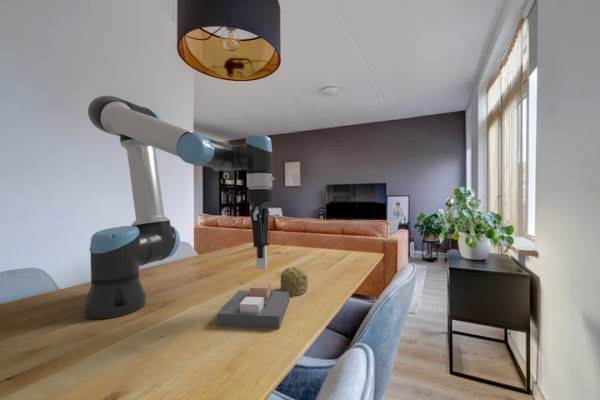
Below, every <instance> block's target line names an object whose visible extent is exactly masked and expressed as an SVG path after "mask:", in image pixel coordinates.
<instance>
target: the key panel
mask: <svg viewBox="0 0 600 400" xmlns="http://www.w3.org/2000/svg"><path fill="white" fill-rule="evenodd" d="M245 297H250V289H249V290H243V289H238V291H237V292H235V294H234V295H233V296H232V297H231V298H230V299H229V300H228V301H227V302H226V303H225V305H223V307H221V309H220V310H219V311H218V312H216V326H219V327H240V328H241V327H243V328H259V329H260V328H262V329H263V328H264V329H280V328H281V325H282V322H283V320H284V317H285V314H286V312H287V309H288V307H289V306H288V305H289V303H290V296H289V292H281V290H280V291H278V290H277V291H276V290H275V291H274V290H271V295H270V297H269V298H268V300H264V308H263V310H262V312H261V314H254V313H240V303H241V302H242V301H243V299H244V298H245Z"/></svg>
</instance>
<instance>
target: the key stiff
mask: <svg viewBox="0 0 600 400" xmlns="http://www.w3.org/2000/svg"><path fill="white" fill-rule="evenodd" d="M271 283H272V282H257V281H256V282H254V283H253V284H252V285H251V286H250V288H249V291H250V297H264V300H268V298H269V297H270V295H271V291H272V284H271Z"/></svg>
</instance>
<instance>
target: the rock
mask: <svg viewBox="0 0 600 400" xmlns="http://www.w3.org/2000/svg"><path fill="white" fill-rule="evenodd" d="M308 283H309V282H308V275H307V273H306V271H305V270H304V269H303V268H301V267H297V266H290V267H288V268H285V269H284V270H283V271H282V272H281V274H280V292H289V297H295V296H297V297H298V296H301V295H303V294H304V293H306V292H307V290H308V287H309V286H308V285H309V284H308Z"/></svg>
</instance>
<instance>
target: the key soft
mask: <svg viewBox="0 0 600 400" xmlns="http://www.w3.org/2000/svg"><path fill="white" fill-rule="evenodd" d="M263 308H264V297H245V298H244V299H243V301H242V302H241V303H240V313H254V314H261V312H262V310H263Z"/></svg>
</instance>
